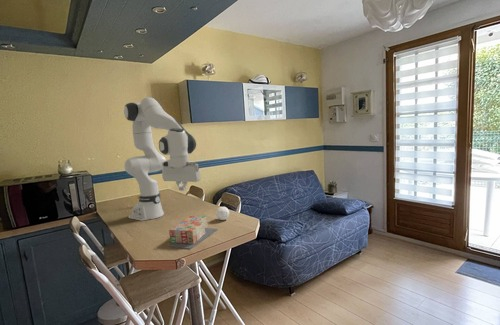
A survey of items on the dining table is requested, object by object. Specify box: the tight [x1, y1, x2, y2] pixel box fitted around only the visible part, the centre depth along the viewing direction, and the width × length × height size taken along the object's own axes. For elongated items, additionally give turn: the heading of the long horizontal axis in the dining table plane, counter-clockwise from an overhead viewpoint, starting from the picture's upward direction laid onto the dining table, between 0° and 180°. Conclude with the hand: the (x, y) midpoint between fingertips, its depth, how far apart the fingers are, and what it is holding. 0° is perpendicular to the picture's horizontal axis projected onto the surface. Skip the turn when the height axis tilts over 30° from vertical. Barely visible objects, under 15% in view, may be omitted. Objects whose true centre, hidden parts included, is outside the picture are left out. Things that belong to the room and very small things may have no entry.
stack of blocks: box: [168, 215, 208, 244], centre depth 133 cm, size 21×6×12 cm
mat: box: [167, 227, 218, 250], centre depth 130 cm, size 12×24×1 cm, turn 157°
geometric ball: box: [215, 206, 230, 221], centre depth 154 cm, size 8×8×8 cm
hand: (182, 190), depth 131 cm, fingers closed
